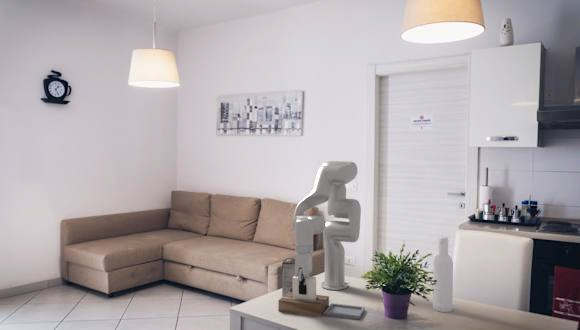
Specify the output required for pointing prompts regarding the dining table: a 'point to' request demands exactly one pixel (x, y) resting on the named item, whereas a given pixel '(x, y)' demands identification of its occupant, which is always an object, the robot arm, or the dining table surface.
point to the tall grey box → (288, 275)
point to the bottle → (443, 278)
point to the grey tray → (344, 311)
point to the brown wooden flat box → (303, 305)
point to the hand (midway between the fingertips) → (304, 291)
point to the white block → (310, 288)
